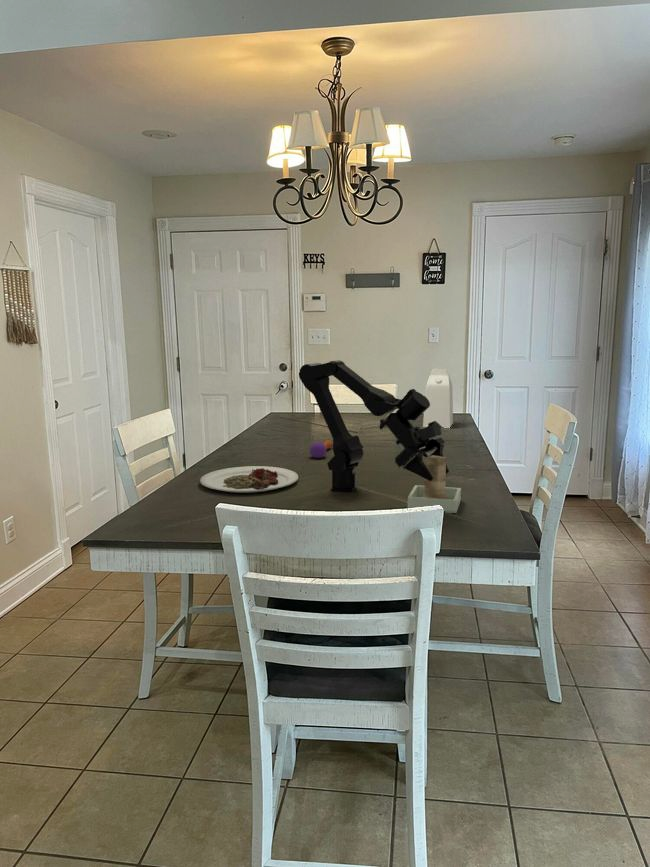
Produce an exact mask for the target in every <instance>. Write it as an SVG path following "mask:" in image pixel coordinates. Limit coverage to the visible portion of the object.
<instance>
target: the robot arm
mask: <svg viewBox="0 0 650 867" xmlns="http://www.w3.org/2000/svg"><path fill="white" fill-rule="evenodd" d="M332 376H333V377H334V378H336V380H338V382H340V383H341V384H343V385H344V386H345V387H346V388H348V389H349V390H350V391H351V392H352V393H354V394H355V395H357V396H358V397H359V398H360V400H362V402H363V405H364V406H365V408H366V409H368V411H369V412H370V413H371V415H373V416H374V417H382V416H386V415H387V417H386V418H380V420H379V422H380V423H379V427H378V428H379V430H385V429H387V428H388V430H389V431H390V432H391V434H392V435H393V436H394V438H395V439H396V441H395V443H396V445H398V446H399V445H401V447H403V450H402V451H400V453H398V455H397V456H395V458H394V463H395V464H396V466H397V467H398V469H401V468H402V469H403V470H406V471H409V472H411V473H413V474H416V475H417V476H420V477H421V478H422V479H423V478H424V480H425V479H427V480H429V481H432V480H433V477H432V475H431V473H430V472H429V470H428V469H427V467H426V466H425V462H424V461H423V457H424V458H427V457H430V456H433V455H434V456H441V457H444V453H443V452H444V448H445V444H446V442H445V440H444V439H443V438H442V437H441V435H442V434H443V432H442V426H441V425H439V423H437V422H436V421H433V422H431V423H428V427H425V428H423V427H422V428H420V426H414V425H413V424H412V423H411V421H413V422H414V421H416V420H418V419H419V417H421V415H424V412H425V411H426V410H427V409H428V408H429V407H430V402H429V400H428V399H427V398H426V397H425V395H423V394H422V393H420V392H419V391H417V390H416V389H415V388H411V389H409V390H408V391H407V392H406V394H405V395H404V396H403V397H402V399H401V398H400V399H399V398H396V397H395V395H393V394H391V393H390V392H388V391H386V390H384V389H382V388H378V387H376V386H373V385H372V384H370V383H369V382H368V381H367V380H366V379H364V378H363V377H361V376H360V375H359V374H358V373H357V372H356V371H354V370H353V369H351V368H350V367H349V366H347V365H346V363H345V362H344V361H342V360H340V359H338V360H331V361H328V362H325V363H320V362H314V363H307V364H306V363H305V364H303V365H302V366H301V367H300V368H299V372H298V378H299V380H300V382H301V383H302V384H303V386H304V387H305V389H306V390H308V391H309V392H310V393H311V394H312V395H313V397H314V399H315V401H316V404H317V406H318V408H319V409H320V410H319V411H320V413H321V414H322V417H323V419H324V421H325V423H326V426H327V428H328V430H329V431H328V432H329V433H330V435H331V437H332V443H333V446H332V452H333V457H331V459H330V460H329V461H327V463H326V464H327V468H328V470H329V471H331V477H332V478H331V487H330V491H338V492H350V493H351V492H353V491H354V490H355V489H356V488H357V487H358V473H357V472H356V468H357V467H359V464H360V461H362V459H363V456H364V450H363V449H364V446H363V444H362V443H361V440H360V437H359V435H352V434H351V433H350V432H349V431H348V427H347V426H346V423H345V422H344V421H345V420H343V417H342V415H341V413H340V410H339V409H338V406H337V404H336V402H335V399H334V397H333V394H332V392H331V390H330V377H332ZM449 473H450V470H449V468H448V465H447V464H446V475H447V474H449Z"/></svg>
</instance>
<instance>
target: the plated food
mask: <svg viewBox="0 0 650 867" xmlns="http://www.w3.org/2000/svg"><path fill="white" fill-rule="evenodd" d="M298 479H299V475H298V473H297V472H296V471H293V470H290V469H287V468H283V467H277V466H276V467H275V466H267V465H266V466H262V465H258V466H256V465H254V466H253V465H252V466H251V465H250V466H237V467H235V466H234V467H228V468H222V469H218V470H214V471H211V472H208V473H206V474H204V475H203V476H201V477H200V481H199V482H200V484H201V485H202V486H203V487H206V488H209V489H212V490H217V491H222V492H229V493H236V494H237V493H241V494H242V493H243V494H245V493H247V494H249V493H260V492H261V493H263V492H268V491H273V490H277V489H279V488H280V489H281V488H284V487H288V486H290V485H293V484H294V483H296V482H297V481H298Z"/></svg>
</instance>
